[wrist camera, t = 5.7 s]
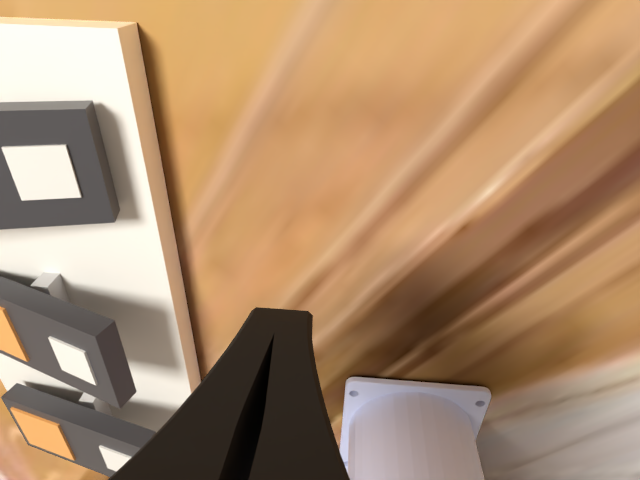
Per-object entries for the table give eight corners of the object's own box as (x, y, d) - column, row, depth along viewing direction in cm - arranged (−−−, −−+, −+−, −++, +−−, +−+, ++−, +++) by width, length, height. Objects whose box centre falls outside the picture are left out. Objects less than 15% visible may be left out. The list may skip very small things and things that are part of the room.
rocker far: (169, 478, 25) (157, 498, 24) (41, 430, 27) (26, 446, 26) (155, 431, 23) (141, 451, 22) (16, 382, 25) (-2, 399, 24)
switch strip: (211, 438, 29) (200, 476, 27) (50, 424, 30) (27, 460, 28) (136, 22, 16) (102, 33, 14) (-157, 10, 16) (-232, 19, 14)
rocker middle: (136, 391, 20) (118, 411, 19) (0, 331, 23) (-21, 346, 22) (114, 320, 18) (92, 339, 17) (-35, 262, 21) (-60, 276, 20)
